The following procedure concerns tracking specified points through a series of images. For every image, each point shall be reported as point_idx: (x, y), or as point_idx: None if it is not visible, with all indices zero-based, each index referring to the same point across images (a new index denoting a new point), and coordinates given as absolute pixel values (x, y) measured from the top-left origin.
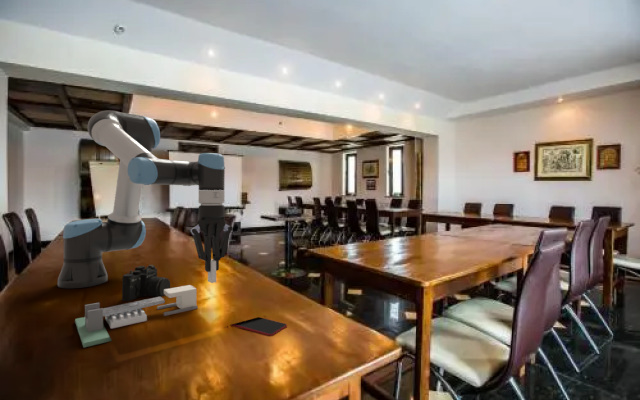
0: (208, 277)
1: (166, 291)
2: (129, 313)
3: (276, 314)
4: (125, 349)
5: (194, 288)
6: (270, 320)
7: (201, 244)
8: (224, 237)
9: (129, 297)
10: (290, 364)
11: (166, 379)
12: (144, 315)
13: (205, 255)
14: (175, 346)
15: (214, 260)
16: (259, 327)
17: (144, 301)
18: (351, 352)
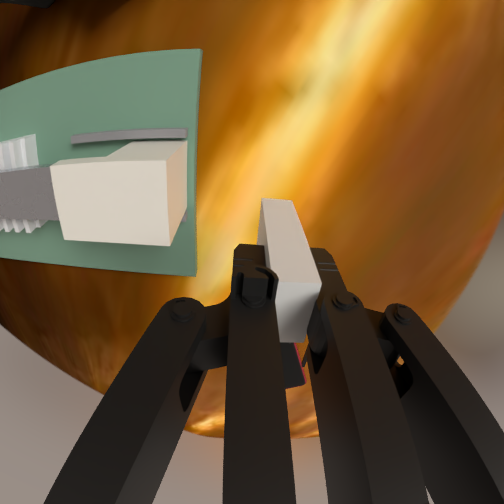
0: (262, 216)
1: (56, 203)
2: (5, 221)
3: None
4: (39, 298)
5: (163, 236)
6: (298, 366)
7: (150, 485)
8: (442, 496)
9: (33, 5)
10: None
11: (99, 381)
12: (36, 227)
13: (227, 350)
14: (107, 339)
15: (304, 325)
16: None
17: (17, 190)
18: (294, 431)
